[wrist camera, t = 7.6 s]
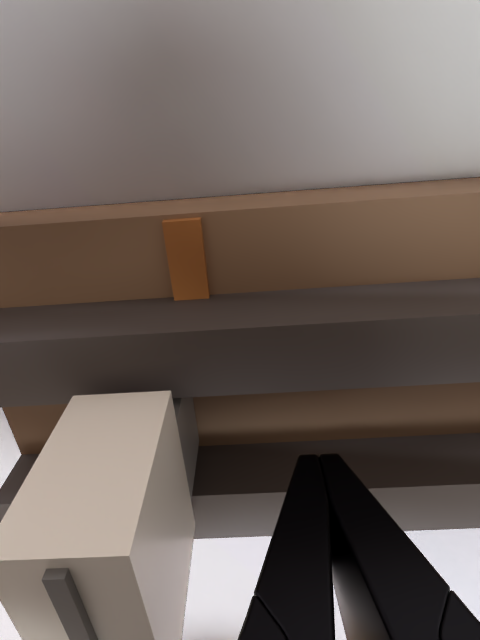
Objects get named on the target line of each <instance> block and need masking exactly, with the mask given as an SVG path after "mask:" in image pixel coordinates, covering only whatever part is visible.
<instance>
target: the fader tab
mask: <svg viewBox="0 0 480 640" xmlns="http://www.w3.org/2000/svg"><path fill="white" fill-rule="evenodd" d="M198 446H199V436H198V429H197V423H196V416H195V410H194V403H193V397H188V398H172V394H171V391H152V392H134V393H115V394H96V395H78V396H73V397H72V398H71V400H70V402H69V404H68V405H67V407H66V409H65V411H64V412H63V414H62V416H61V418H60V419H59V421H58V423H57V425H56V426H55V428H54V430H53V432H52V433H51V435H50V437H49V439H48V440H47V442H46V444H45V446H44V447H43V449H42V451H41V453H40V454H39V456H38V458H37V459H36V461H35V463H34V465H33V466H32V468H31V470H30V472H29V473H28V475H27V477H26V479H25V480H24V482H23V484H22V486H21V487H20V489H19V491H18V493H17V494H16V496H15V498H14V500H13V501H12V503H11V505H10V507H9V508H8V510H7V512H6V514H5V515H4V517H3V519H2V521H1V522H0V601H1V603H2V605H3V606H4V608H5V610H6V612H7V614H8V615H9V617H10V619H11V621H12V622H13V624H14V626H15V628H16V630H17V631H18V633H19V635H20V637H21V638H22V640H182V633H183V625H184V616H185V608H186V599H187V591H188V582H189V573H190V565H191V556H192V548H193V539H194V531H195V520H194V514H193V509H192V503H191V499H192V491H193V484H194V476H195V469H196V461H197V454H198Z"/></svg>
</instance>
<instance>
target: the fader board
mask: <svg viewBox="0 0 480 640" xmlns="http://www.w3.org/2000/svg"><path fill="white" fill-rule="evenodd" d="M152 391H171V394H172V398H188V397H193V403H194V410H195V416H196V423H197V429H198V436H199V446H198V454H197V461H196V469H195V476H194V484H193V491H192V499H191V503H192V509H193V514H194V520H195V531H194V539H203V538H229V537H255V536H273V532H274V529H275V526H276V523H277V520H278V517H279V514H280V511H281V508H282V505H283V502H284V498H285V495H286V492H287V489H288V486H289V483H290V480H291V477H292V474H293V471H294V468H295V465H296V461H297V458H298V456H299V455H300V454H317V455H318V456H319V455H320V454H321V453H338V454H339V455H340V456H341V457H342V458H343V459H344V461H345V462H346V463H347V464H348V465H349V467H350V468H351V469H352V470H353V471H354V473H355V474H356V475H357V476H358V477H359V479H360V480H361V481H362V482H363V483H364V485H365V486H366V487H367V488H368V489H369V491H370V492H371V493H372V494H373V495H374V497H375V498H376V499H377V500H378V501H379V503H380V504H381V505H382V506H383V507H384V509H385V510H386V511H387V512H388V513H389V515H390V516H391V517H392V518H393V519H394V521H395V522H396V523H397V524H398V525H399V527H400V528H401V529H402V530H403V531H413V530H440V529H466V528H480V177H476V178H462V179H448V180H435V181H421V182H408V183H394V184H381V185H367V186H353V187H340V188H326V189H313V190H299V191H285V192H272V193H258V194H245V195H231V196H218V197H204V198H190V199H177V200H163V201H150V202H136V203H122V204H109V205H95V206H82V207H68V208H55V209H41V210H27V211H14V212H0V407H2V408H3V411H4V413H5V416H6V418H7V420H8V423H9V425H10V428H11V430H12V433H13V435H14V437H15V440H16V442H17V445H18V447H19V449H20V452H21V454H22V455H21V456H20V458H19V460H18V461H17V463H16V465H15V466H14V468H13V469H12V471H11V473H10V474H9V476H8V477H7V479H6V481H5V482H4V484H3V485H2V487H1V489H0V522H1V521H2V519H3V517H4V515H5V514H6V512H7V510H8V508H9V507H10V505H11V503H12V501H13V500H14V498H15V496H16V494H17V493H18V491H19V489H20V487H21V486H22V484H23V482H24V480H25V479H26V477H27V475H28V473H29V472H30V470H31V468H32V466H33V465H34V463H35V461H36V459H37V458H38V456H39V454H40V453H41V451H42V449H43V447H44V446H45V444H46V442H47V440H48V439H49V437H50V435H51V433H52V432H53V430H54V428H55V426H56V425H57V423H58V421H59V419H60V418H61V416H62V414H63V412H64V411H65V409H66V407H67V405H68V404H69V402H70V400H71V398H72V397H73V396H78V395H96V394H115V393H134V392H152Z"/></svg>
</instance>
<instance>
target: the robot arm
mask: <svg viewBox="0 0 480 640" xmlns="http://www.w3.org/2000/svg"><path fill="white" fill-rule="evenodd" d="M333 585H334V589H335V593H336V597H337V601H338V605H339V609H340V613H341V617H342V621H343V625H344V630H345V634H346V638H347V640H480V622H479V621H478V620H477V618H476V617H475V616H474V615H473V614H472V613H471V612H470V610H469V609H468V608H467V607H466V606H465V604H464V603H463V602H462V601H461V600H460V598H459V597H458V596H457V595H456V594H455V592H454V591H450V587H449V585H448V584H447V583H446V582H445V581H444V579H443V578H442V577H441V576H440V575H439V573H438V572H437V571H436V570H435V569H434V567H433V566H432V565H431V564H430V563H429V561H428V560H427V559H426V558H425V557H424V555H423V554H422V553H421V552H420V551H419V549H418V548H417V547H416V546H415V545H414V543H413V542H412V541H411V540H410V539H409V537H408V536H407V535H406V534H405V533H404V531H403V530H402V529H401V528H400V527H399V525H398V524H397V523H396V522H395V521H394V519H393V518H392V517H391V516H390V515H389V513H388V512H387V511H386V510H385V509H384V507H383V506H382V505H381V504H380V503H379V501H378V500H377V499H376V498H375V497H374V495H373V494H372V493H371V492H370V491H369V489H368V488H367V487H366V486H365V485H364V483H363V482H362V481H361V480H360V479H359V477H358V476H357V475H356V474H355V473H354V471H353V470H352V469H351V468H350V467H349V465H348V464H347V463H346V462H345V461H344V459H343V458H342V457H341V456H340V455H339V454H338V453H321V454H320V455H319V456H318V455H317V454H300V455H299V456H298V458H297V461H296V465H295V468H294V471H293V474H292V477H291V480H290V483H289V486H288V489H287V492H286V495H285V498H284V502H283V505H282V508H281V511H280V514H279V517H278V520H277V523H276V526H275V529H274V532H273V536H272V539H271V542H270V545H269V548H268V551H267V554H266V557H265V560H264V563H263V566H262V570H261V573H260V576H259V579H258V582H257V585H256V588H255V591H254V596H253V597H252V600H251V603H250V606H249V609H248V612H247V615H246V618H245V621H244V623H243V626H242V629H241V632H240V634H239V637H238V640H335V623H334V599H333ZM449 591H450V592H449Z"/></svg>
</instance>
